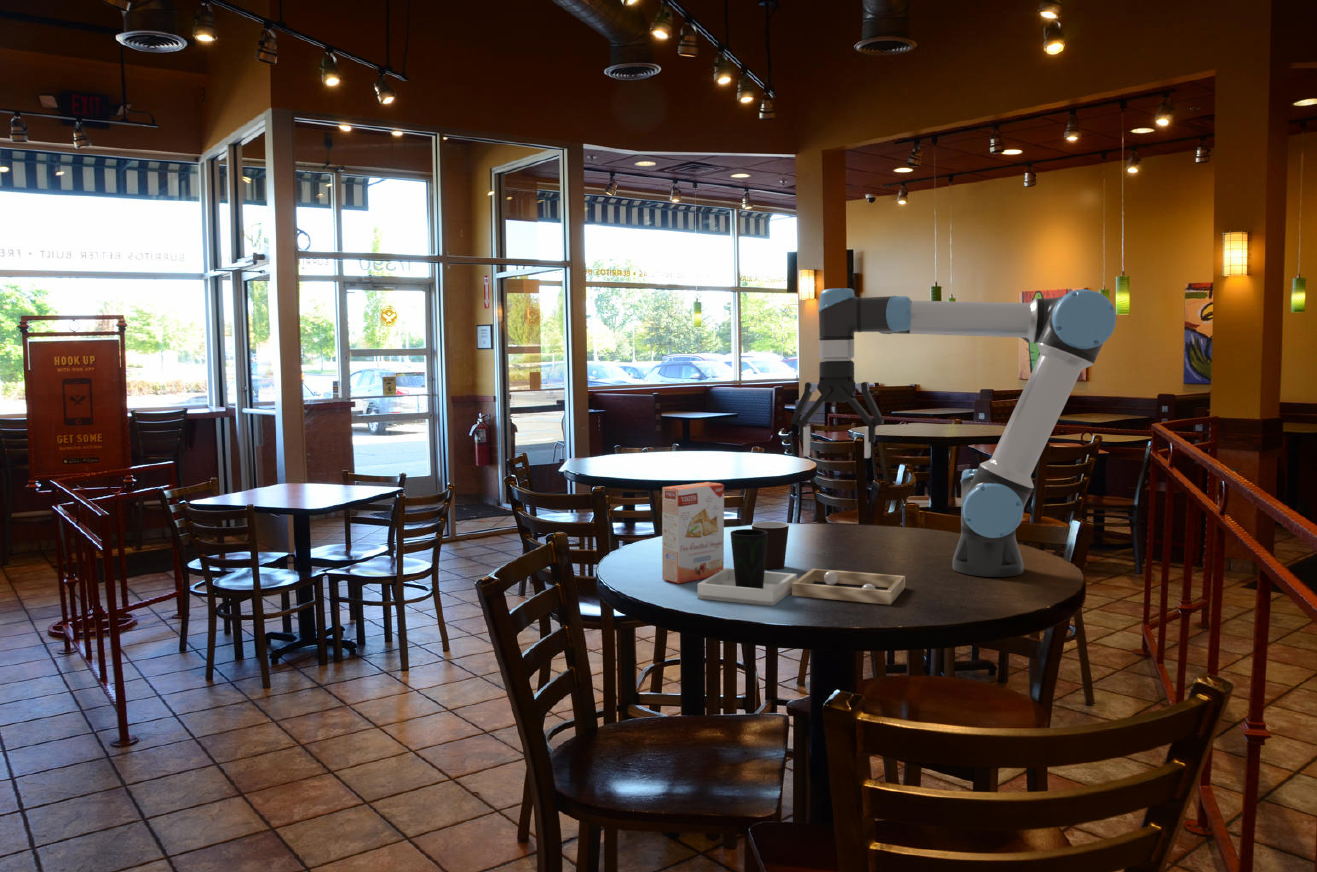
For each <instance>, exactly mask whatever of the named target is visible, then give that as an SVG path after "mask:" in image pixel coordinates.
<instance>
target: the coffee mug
mask: <svg viewBox="0 0 1317 872" xmlns="http://www.w3.org/2000/svg"><path fill="white" fill-rule="evenodd" d="M789 527H790V525H789V523H786V522H783V521H782V522H781V521H780V522H779V521H758V522H754V523H753V522H752V524H751V529H758V530H764V531H767V532H768V536H767V548H766V560H765V571H777V570H784V568H785V564H786V553H787V545H788V538H789V537H788V536H789Z"/></svg>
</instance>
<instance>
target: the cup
mask: <svg viewBox="0 0 1317 872" xmlns="http://www.w3.org/2000/svg"><path fill="white" fill-rule="evenodd" d="M729 534H730V541H731V542H730V543H731V554H732V561H733V569H734V573H735V583H736V586H738V587H749V588H760V589H763V583H764V572H765V571H766V570H765V560H766V548H767V536H768V532H767V531H764V530H758V529H752V528H744V529H742V528H741V529H735V530H732V531H731V532H730V533H729Z"/></svg>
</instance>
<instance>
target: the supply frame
mask: <svg viewBox="0 0 1317 872" xmlns="http://www.w3.org/2000/svg"><path fill="white" fill-rule="evenodd" d="M828 571H833V572H835V573H836V574H837V575H838V581H837V583H836V584H843V585H844V584H845V585H854V586H855V585H856V586H864V585H865V584H872V585H873V586H874V587H877V588H887V589H886V590H883V589H876V590H874V589H863V588H862V587H861V588H860V587H851V586H849V587H848V586H838V585H828V584H817V583H816V584H815V582H821V583H826V582H825V581H824V575H825V574H826V573H827V572H828ZM904 589H906V576H905V575H897V574H895V575H894V574H885V573H884V574H881V573H873V572H872V573H871V572H861V571H860V572H859V571H847V570H834V569H833V570H832V569H823V568H811V569H810V570H808V571H807V572H806V573H804V574H803V575H802V576H800V577H799V578H797V580H796V581H795V582H793V583H792V592H791V596H795V597H804V598H805V597H806V598H813V599H814V598H815V599H827V600H838V601H848V602H857V603H858V602H860V603H869V604H877V605H878V604H881V605H889V606H890V605H892V603H893V602H894V601H895V600H896V599H897V598H898V596H900V594H901V593H902V592H903V591H904Z"/></svg>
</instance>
